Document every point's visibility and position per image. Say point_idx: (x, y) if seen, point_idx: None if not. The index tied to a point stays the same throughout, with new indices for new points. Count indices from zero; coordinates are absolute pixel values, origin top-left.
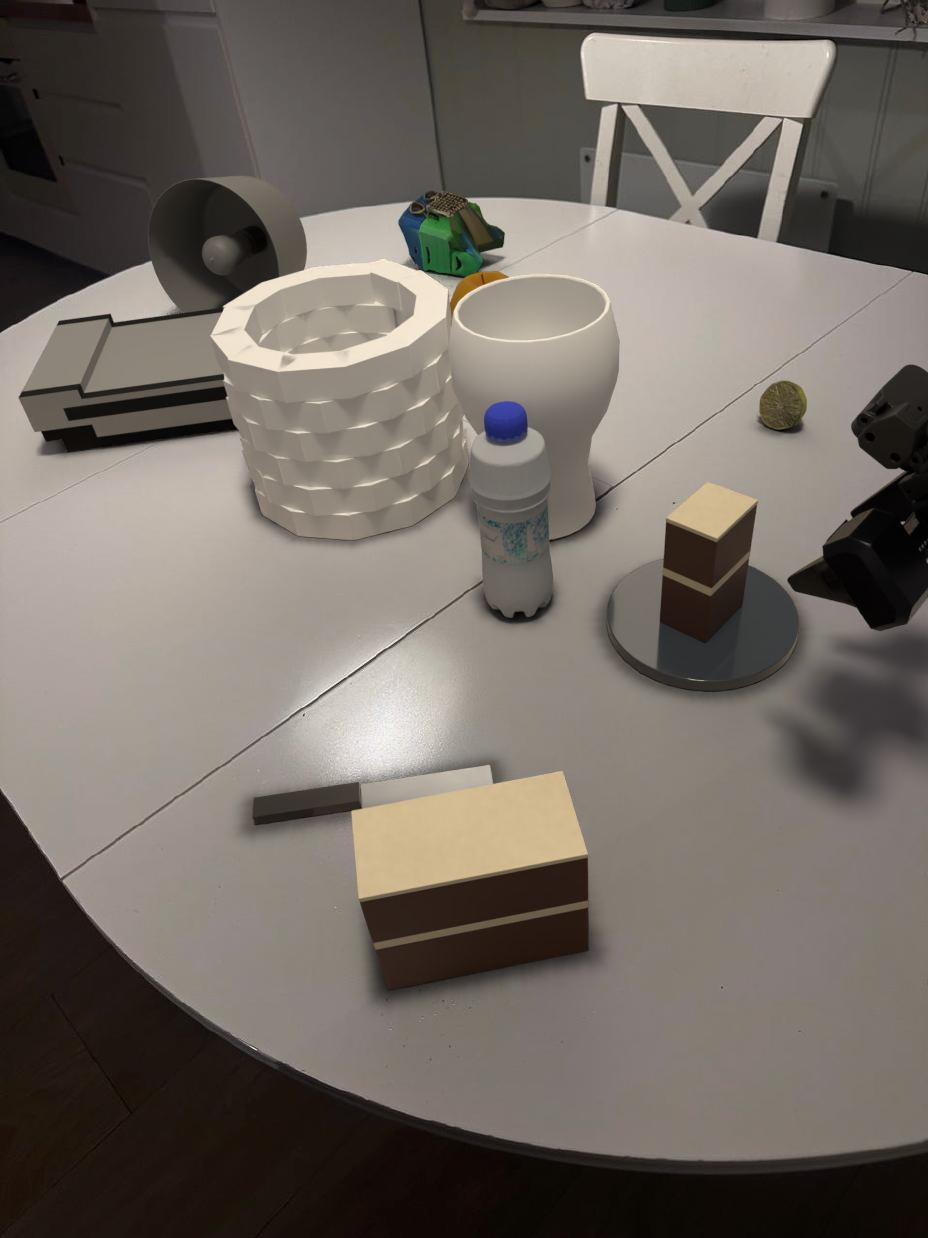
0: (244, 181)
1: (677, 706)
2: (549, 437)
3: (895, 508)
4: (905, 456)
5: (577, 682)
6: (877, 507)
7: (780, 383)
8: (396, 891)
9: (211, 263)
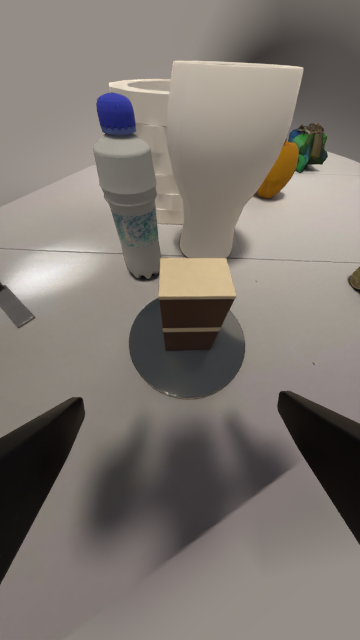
0: None
1: (118, 365)
2: (190, 186)
3: (350, 490)
4: None
5: (109, 316)
6: (319, 440)
7: None
8: None
9: None
